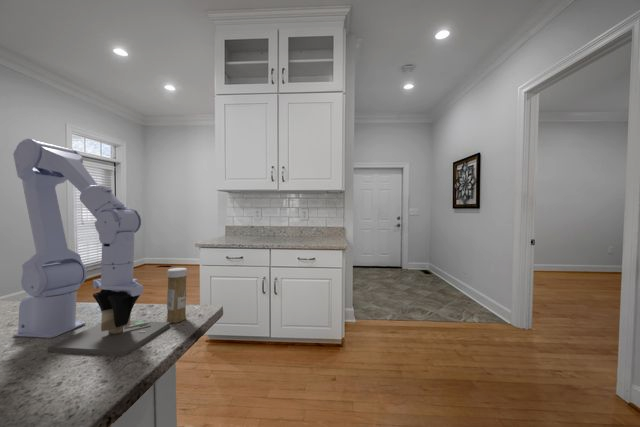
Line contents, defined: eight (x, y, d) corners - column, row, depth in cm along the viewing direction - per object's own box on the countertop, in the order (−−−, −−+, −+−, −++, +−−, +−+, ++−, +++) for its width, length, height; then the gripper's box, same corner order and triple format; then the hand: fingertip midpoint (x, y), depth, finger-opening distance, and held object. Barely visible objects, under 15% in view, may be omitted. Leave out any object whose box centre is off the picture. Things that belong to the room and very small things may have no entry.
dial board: (47, 351, 52) (48, 345, 52) (109, 323, 66) (109, 318, 66) (124, 356, 51) (124, 349, 51) (170, 326, 65) (170, 321, 65)
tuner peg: (101, 337, 56) (102, 313, 56) (100, 333, 58) (101, 310, 58) (151, 325, 62) (151, 304, 62) (148, 322, 64) (149, 301, 64)
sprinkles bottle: (187, 321, 68) (188, 269, 69) (166, 324, 66) (168, 271, 66) (184, 315, 72) (186, 266, 72) (165, 318, 70) (166, 267, 70)
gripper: (157, 262, 60) (155, 323, 60) (117, 258, 65) (115, 313, 65) (123, 268, 53) (121, 335, 53) (82, 262, 59) (80, 323, 59)
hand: (116, 324), depth 59 cm, fingers closed on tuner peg, 3 cm apart
